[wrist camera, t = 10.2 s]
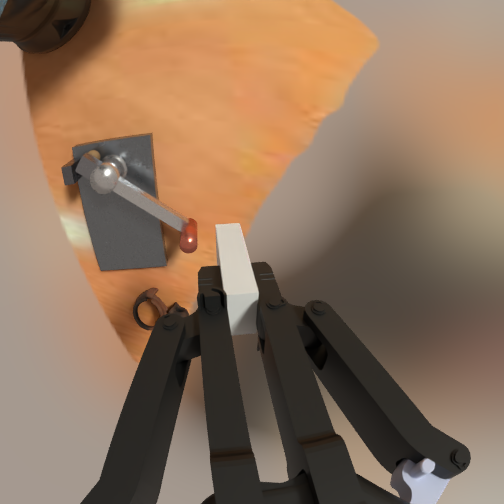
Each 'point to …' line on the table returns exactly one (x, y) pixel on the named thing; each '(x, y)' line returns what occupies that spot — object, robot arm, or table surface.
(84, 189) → the base board
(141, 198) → the lever
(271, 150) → the table surface
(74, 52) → the table surface
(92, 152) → the walnut
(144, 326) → the pottery mug
